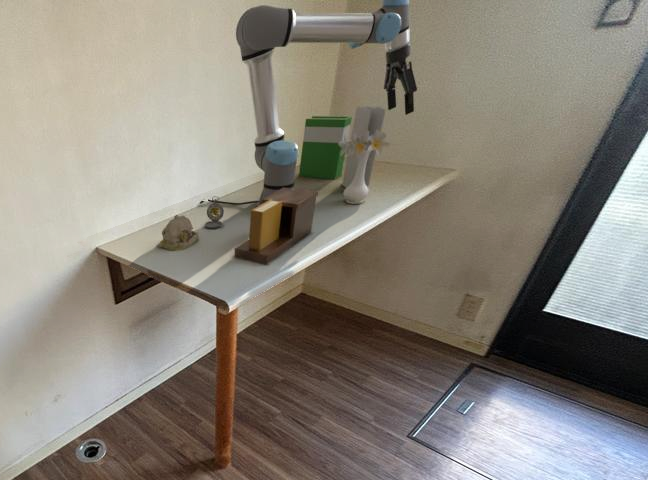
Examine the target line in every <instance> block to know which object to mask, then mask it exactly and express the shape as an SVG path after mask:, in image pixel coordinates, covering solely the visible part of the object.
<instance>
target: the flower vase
mask: <svg viewBox="0 0 648 480" xmlns="http://www.w3.org/2000/svg"><path fill="white" fill-rule="evenodd" d="M351 135H352V134H351ZM368 136H369V131H366V132H365V133H364V135H362V136H361V137H357V138H355V137H356V134H355V133H353V135H352V138H351V137H350V139H349V136H348V137H347V135H346V134H345V135H344V141H345V142H344V141H340V142H339V143H338V145H339V146H340V147H344V148H343V149H342V150H341V153H340V156H342V155H343V154H344V153H345V154H346V155H347V156H348V155H353V154H355V153H356V158H357V159H359V161H358V166H357V170H356V174H355V177H354V179H353V181H352V183H351V184H350V185H349V186H348V187H347V188H345V189H344V190H343V192H342V193H343V194H342V195H343V198H344V199H345V203H347V204H351V205H359V204H362V203H363V202H364V201H365V199H367V198H368V197H369V196H370V195H369V194H370V189H369V187H367V186H366V184H365V180H364V175H365V169H366V163H367V159H368V157H369V154H370V152H371V151H372V150H374V149H375V151H376V156H381V155H382V152H383V151H382V150H383V148H389V146H390V141H385V139H386V137H387V134H386V133H385V132H384V131H383V132H382V131H381V134H380V135H379V131H378V130H376V137H375V136H374V135H371V136H369V137H368ZM371 143H372V144H371ZM369 144H371V145H370V146H369V147H368V145H369ZM351 147H354V148H353V149H351V150H350V148H351Z"/></svg>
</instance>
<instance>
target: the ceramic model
mask: <svg viewBox="0 0 648 480" xmlns="http://www.w3.org/2000/svg"><path fill="white" fill-rule="evenodd" d="M193 230H194V227H193V224H192V222H191V220H190V218H189V217H186V216H185V215H180V216H179V215H178V214H176V215H174V216H173V218H172V219H170V220H169V221H168V223H167V224H166V226H165V227H164V228H163V229H162V231H161V235H162V240H160V242H159V244H158V247H159V248H164V249H167V250H169V251H179V250H184V249H186V248H188V247H190V246H192V245H194V244H195V243H196V242H197V241H198V239H199V232H197V231H193Z"/></svg>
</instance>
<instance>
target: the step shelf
mask: <svg viewBox="0 0 648 480" xmlns="http://www.w3.org/2000/svg"><path fill="white" fill-rule="evenodd" d="M318 194H319V191H315V190H307V189H299V188H294V189H292V188H282V189H280V190H278V191H276V192H274V193H273V194H271V195H269V196H267V197H265V198H263V199H262V203H263V204H264V203H265V202H267V201H269V200H271V199H272V201H277V202H280V201H282V210H281V219H280V229H279V238H278V239H276V240H275V241H273V242H272V243H270V244H269V245H267V246H266V247H264V248H263V249H261V250H260V251H258V250H254V249H249V239H247V240H244V241H243V242H242V243H241V244H239V245H237V246H236V247H234V258H238V259H242V260H246V261H250V262H254V263H259V264H263V265H265V266H266V265H268V264H270V263H271V262H273V261H274V260H276V259H277V258H278V257H280V256H281V255H283V254H284V253H285V252H287V251H288V250H290V249H291V248H292V247H294V246H295V245H296V244H298V243H299V242H301V241H302V240H303V239H305V238H307V237H308V236H309V235H311V233H312V229H313V222H314V215H315V209H316V202H317V197H318V196H319V195H318Z"/></svg>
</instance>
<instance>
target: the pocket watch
mask: <svg viewBox="0 0 648 480" xmlns="http://www.w3.org/2000/svg"><path fill="white" fill-rule="evenodd" d="M216 198H217V199H216ZM211 200H213V201H214V202H215V203H214V202H212V203H211V204H209V205H208V207H207V209H206V216H207V218H208V219H209V220H208V221H206V222H205V223H204V227H205V228H207V229H217V228H221V227H222V226H223V222H222V221H220V220H221V219H222V218H223V217H224V214H225V211H224V206H222V205H221V203H216V202H217V201H220V198H219V197H218V196H212V197H211Z"/></svg>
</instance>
